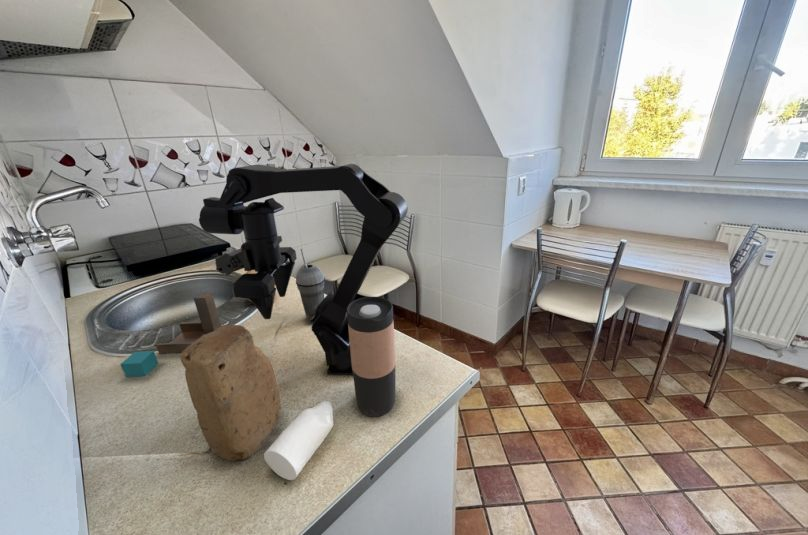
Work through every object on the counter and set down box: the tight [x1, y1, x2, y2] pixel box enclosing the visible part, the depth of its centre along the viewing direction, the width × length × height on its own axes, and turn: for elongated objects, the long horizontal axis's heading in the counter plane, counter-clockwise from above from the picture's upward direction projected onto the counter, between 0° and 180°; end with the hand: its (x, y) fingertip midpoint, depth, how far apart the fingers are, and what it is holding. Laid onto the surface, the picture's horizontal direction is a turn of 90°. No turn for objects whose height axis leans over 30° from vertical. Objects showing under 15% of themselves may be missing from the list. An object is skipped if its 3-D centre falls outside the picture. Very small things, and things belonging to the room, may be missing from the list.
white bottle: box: [263, 400, 334, 481], centre depth 51 cm, size 6×12×6 cm, turn 156°
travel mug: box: [347, 296, 396, 417], centre depth 56 cm, size 8×8×20 cm
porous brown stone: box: [180, 324, 282, 462], centre depth 50 cm, size 11×8×20 cm
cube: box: [120, 350, 159, 378], centre depth 67 cm, size 4×4×4 cm
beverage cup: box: [295, 248, 326, 325], centre depth 83 cm, size 7×7×20 cm
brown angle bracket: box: [155, 291, 222, 355], centre depth 75 cm, size 12×9×13 cm
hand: (275, 306), depth 67 cm, fingers open, 9 cm apart
